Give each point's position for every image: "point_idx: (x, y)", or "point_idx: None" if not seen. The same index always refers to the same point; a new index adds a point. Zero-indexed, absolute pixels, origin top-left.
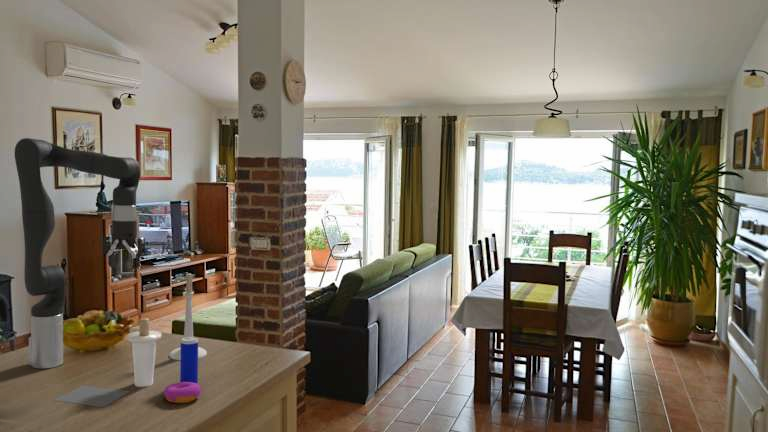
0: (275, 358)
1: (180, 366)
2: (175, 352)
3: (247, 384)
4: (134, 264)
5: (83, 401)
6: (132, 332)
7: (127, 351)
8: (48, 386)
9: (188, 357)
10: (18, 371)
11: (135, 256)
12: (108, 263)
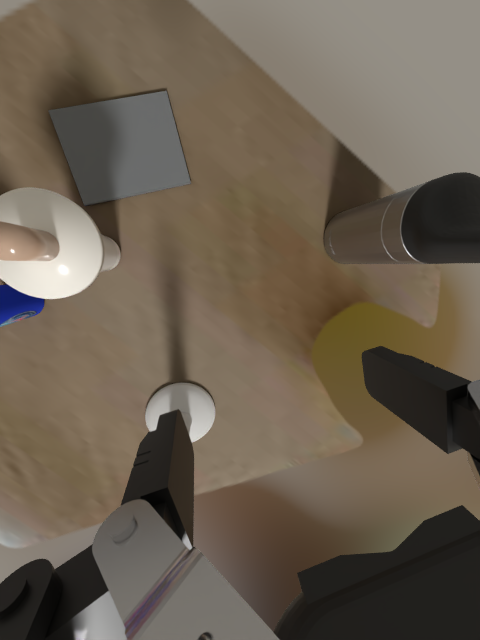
0: (25, 496)
1: (8, 292)
2: (189, 396)
3: None
4: (153, 440)
5: (110, 114)
6: (99, 245)
7: (287, 363)
8: (249, 154)
9: None
10: (358, 184)
11: (112, 529)
12: (413, 357)
